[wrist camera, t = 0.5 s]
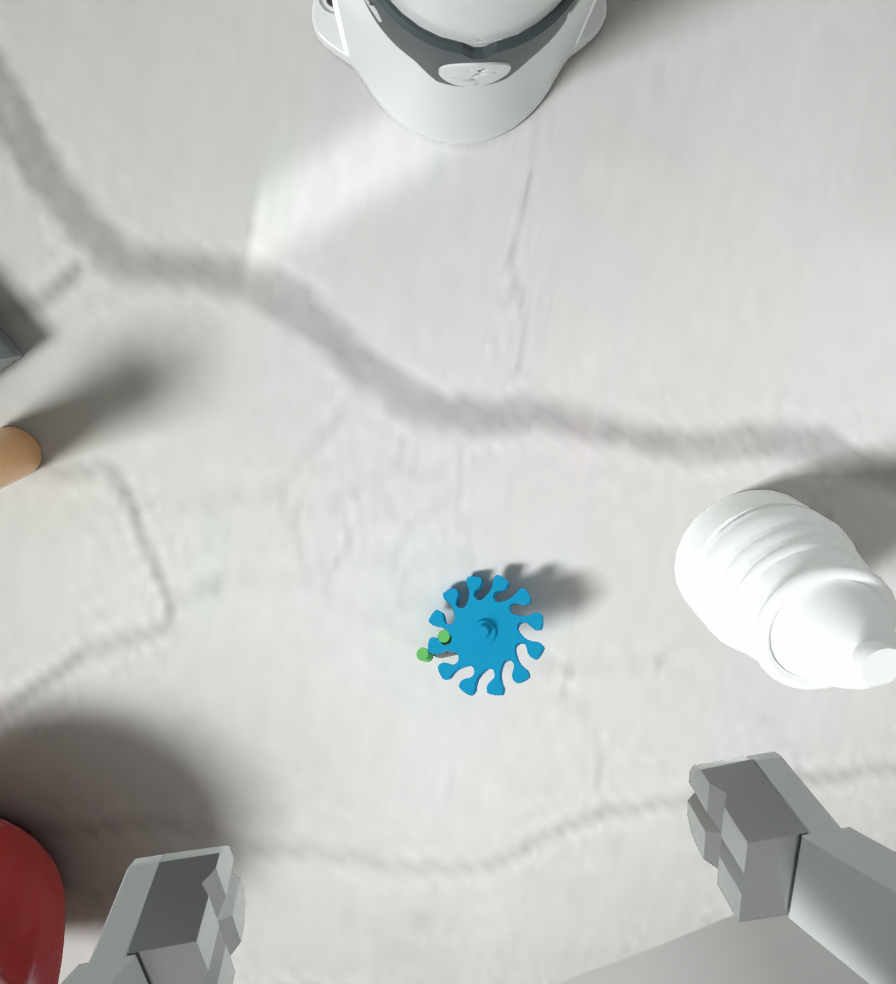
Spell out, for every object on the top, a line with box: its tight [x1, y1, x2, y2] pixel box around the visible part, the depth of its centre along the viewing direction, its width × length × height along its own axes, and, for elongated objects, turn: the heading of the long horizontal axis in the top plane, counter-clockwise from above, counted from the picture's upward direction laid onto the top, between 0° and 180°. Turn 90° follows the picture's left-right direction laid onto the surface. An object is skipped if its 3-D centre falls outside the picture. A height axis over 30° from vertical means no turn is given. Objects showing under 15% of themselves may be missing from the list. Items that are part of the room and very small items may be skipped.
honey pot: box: [675, 490, 896, 690], centre depth 45 cm, size 13×13×18 cm
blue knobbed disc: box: [417, 575, 545, 696], centre depth 53 cm, size 11×6×10 cm
